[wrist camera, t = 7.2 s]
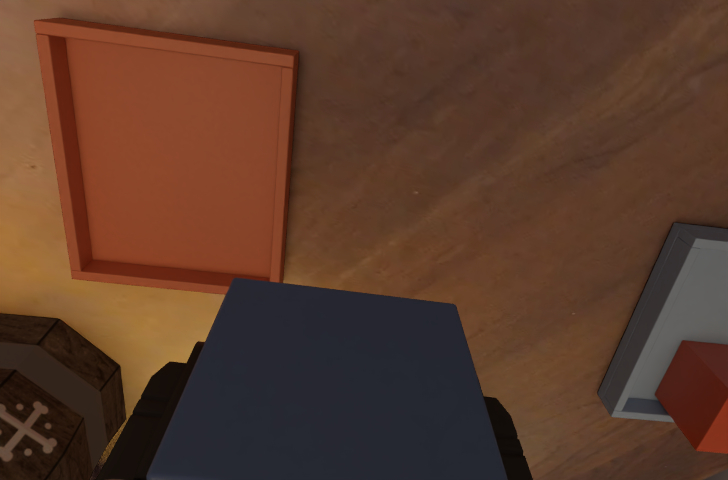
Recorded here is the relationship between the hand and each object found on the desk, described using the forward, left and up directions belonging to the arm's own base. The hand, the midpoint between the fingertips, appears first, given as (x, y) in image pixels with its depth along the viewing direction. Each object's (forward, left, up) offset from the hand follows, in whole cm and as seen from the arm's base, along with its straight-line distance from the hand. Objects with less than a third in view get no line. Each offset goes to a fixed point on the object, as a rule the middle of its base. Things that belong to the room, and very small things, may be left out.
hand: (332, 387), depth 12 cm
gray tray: (+9, +27, -19) cm, 34 cm away
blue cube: (0, 0, 0) cm, 0 cm away
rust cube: (+12, +27, -18) cm, 35 cm away
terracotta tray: (+2, -9, -19) cm, 21 cm away
